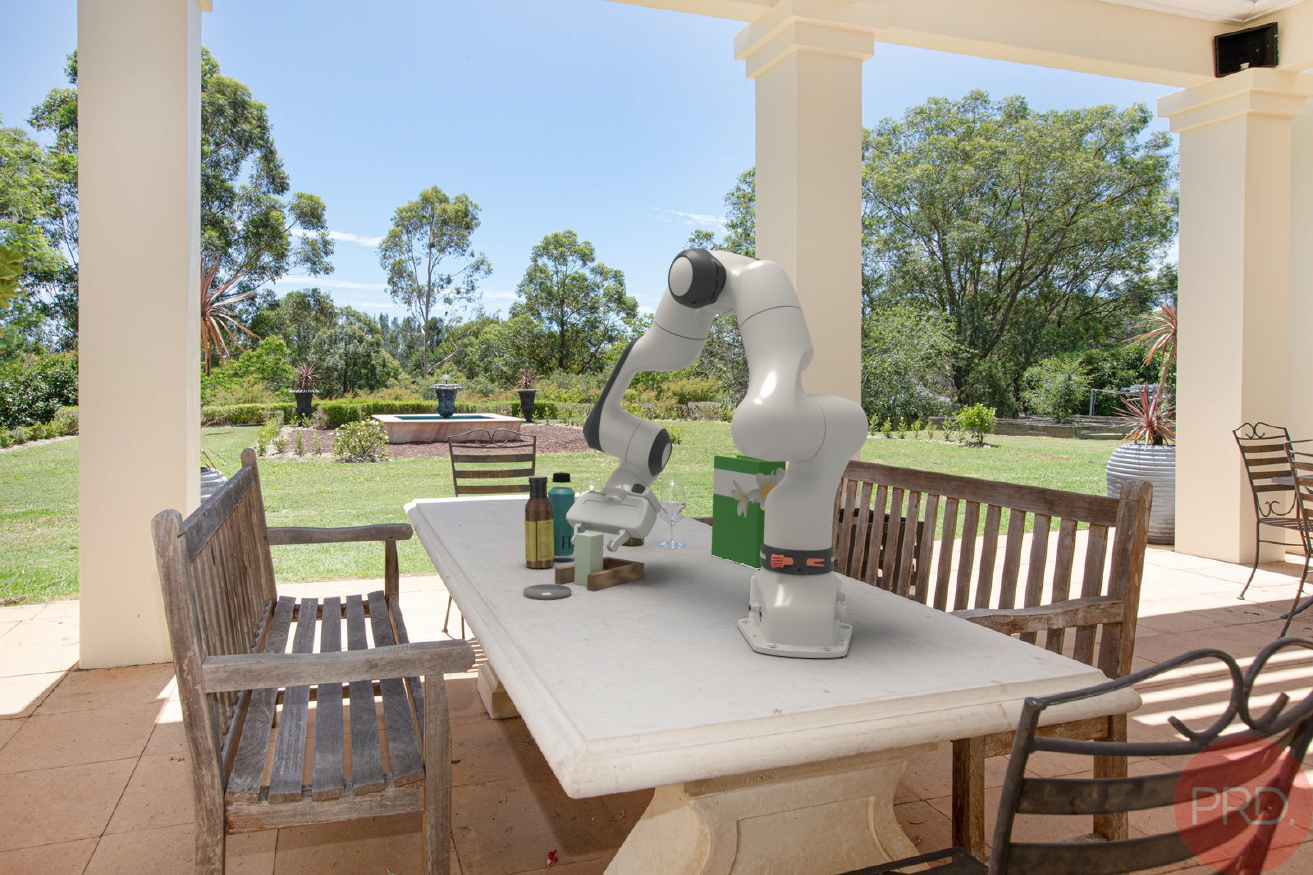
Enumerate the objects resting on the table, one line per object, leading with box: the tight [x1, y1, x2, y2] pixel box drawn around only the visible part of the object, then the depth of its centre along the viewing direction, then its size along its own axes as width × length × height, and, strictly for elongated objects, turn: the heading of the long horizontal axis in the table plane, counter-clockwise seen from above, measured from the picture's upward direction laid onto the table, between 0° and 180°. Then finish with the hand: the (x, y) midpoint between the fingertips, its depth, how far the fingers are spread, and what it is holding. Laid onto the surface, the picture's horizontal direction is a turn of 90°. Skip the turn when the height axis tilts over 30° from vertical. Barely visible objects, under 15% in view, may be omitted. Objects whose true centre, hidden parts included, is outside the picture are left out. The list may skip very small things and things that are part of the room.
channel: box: [554, 556, 645, 592], centre depth 174 cm, size 16×10×3 cm, turn 144°
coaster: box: [522, 583, 572, 601], centre depth 161 cm, size 9×9×1 cm
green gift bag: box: [711, 454, 787, 568], centre depth 197 cm, size 18×7×24 cm, turn 30°
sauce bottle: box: [524, 475, 555, 570], centre depth 185 cm, size 6×6×20 cm
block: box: [573, 531, 605, 587], centre depth 171 cm, size 4×4×10 cm
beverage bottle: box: [547, 471, 576, 557], centre depth 193 cm, size 6×7×20 cm
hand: (592, 546), depth 172 cm, fingers open, 8 cm apart
